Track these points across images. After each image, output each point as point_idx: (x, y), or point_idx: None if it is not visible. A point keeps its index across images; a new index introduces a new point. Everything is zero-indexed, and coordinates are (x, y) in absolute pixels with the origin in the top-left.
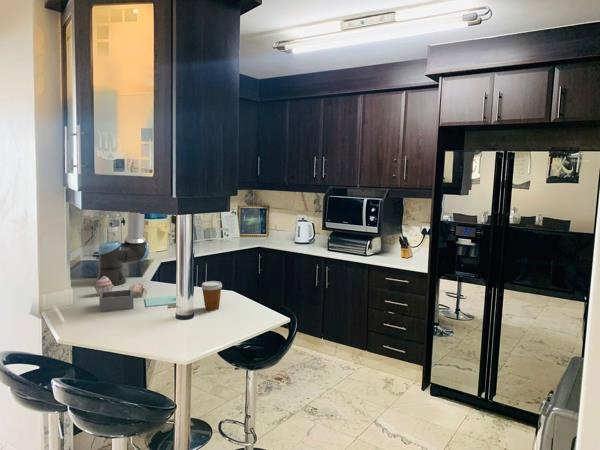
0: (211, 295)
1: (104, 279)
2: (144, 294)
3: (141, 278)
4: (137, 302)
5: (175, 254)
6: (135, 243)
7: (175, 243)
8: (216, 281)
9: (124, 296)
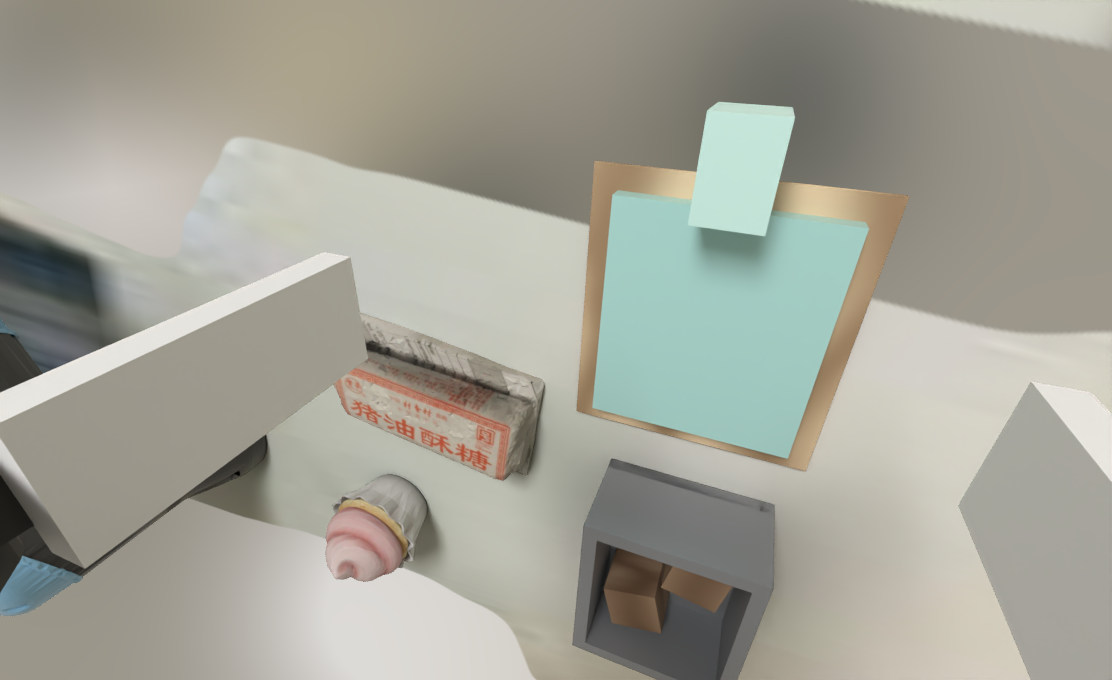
0: None
1: (358, 566)
2: (474, 369)
3: (123, 270)
4: (595, 431)
5: (342, 376)
6: None
7: (87, 560)
8: None
9: (752, 622)
